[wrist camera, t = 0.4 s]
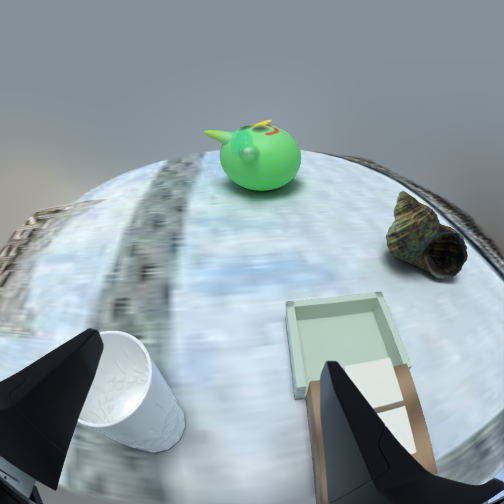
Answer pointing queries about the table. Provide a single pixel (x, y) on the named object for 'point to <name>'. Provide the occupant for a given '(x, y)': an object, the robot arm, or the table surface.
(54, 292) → the table surface
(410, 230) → the seashell
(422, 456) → the tan cardboard slab
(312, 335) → the tray
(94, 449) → the table surface
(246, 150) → the green teapot
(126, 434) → the white cup
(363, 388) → the tile
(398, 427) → the tile
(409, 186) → the table surface
